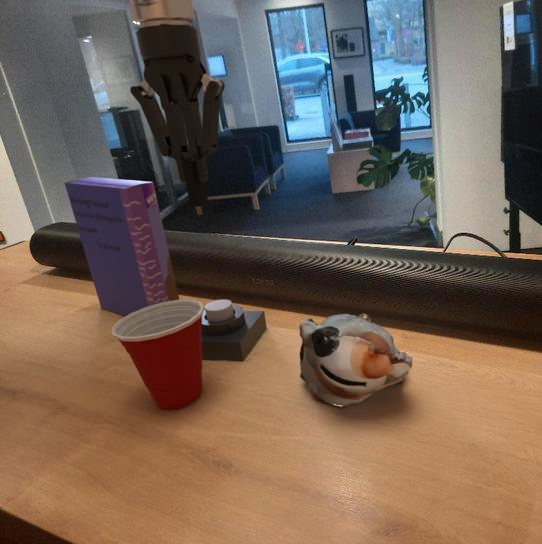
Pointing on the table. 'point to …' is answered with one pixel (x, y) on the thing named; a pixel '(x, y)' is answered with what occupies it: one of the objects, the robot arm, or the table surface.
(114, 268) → the cereal box
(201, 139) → the robot arm
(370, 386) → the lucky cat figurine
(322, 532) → the table surface
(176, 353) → the plastic cup
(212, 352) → the push button base
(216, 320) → the white push button
